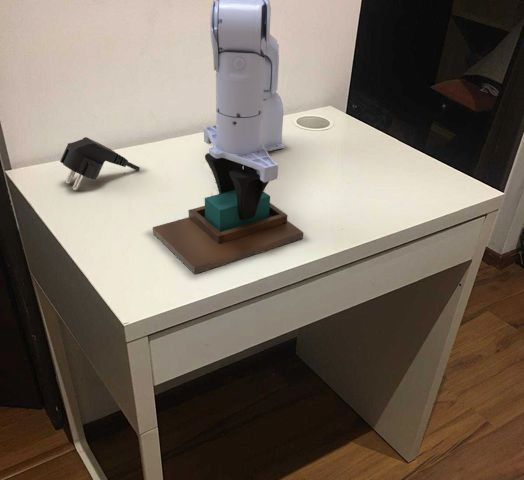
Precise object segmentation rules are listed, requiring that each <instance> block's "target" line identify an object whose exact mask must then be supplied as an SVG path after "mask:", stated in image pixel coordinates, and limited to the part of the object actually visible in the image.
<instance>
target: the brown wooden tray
mask: <svg viewBox="0 0 524 480" xmlns="http://www.w3.org/2000/svg"><path fill="white" fill-rule="evenodd" d="M152 234H153V235H154V236H155V237H156V238H157V239H158V240H159V241H160V242H161V243H162V244H163V245H164V247H166V248H167V249H168V250H169V251H170V252H171V253H172V254H173V255H175V257H176V258H177V259H178V260H179V261H180V262H181V263H183V265H185V267H186V268H187V269H188V270H190V271H191V272H192V273H193V274H194V275H197V274H199V273H203V272H205V271H209V270H212V269H214V268H218V267H221V266H225V265H226V264H231V263H233V262H236V261H239V260H242V259H245V258H248V257H252V256H255V255H257V254H261V253H263V252H267V251H269V250H272V249H275V248H279V247H282V246H285V245H287V244H292V243H293V242H297V241H299V240H303V239H304V232H303V231H302V230H301V229H300V228H298V227H297V226H296V225H294V224H292V223H291V222H290V221H288V214H286V213H285V212H284V211H282V210H281V209H280V208H278V207H277V206H275V205H274V204H272V203H271V202H270V209H269V218H266V219H263V220H259V221H256V222H253V223H249V224H246V225H243V226H239V227H236V228H233V229H229V230H226V231H222V232H220V231H219V230H218V229H217V228H215V227H214V226H213V225H212V224H211V223H209V222H208V221H207V220H206V219H205V205H202V206H198V207H195V208H190V209H188V217H184V218H181V219H177V220H173V221H170V222H167V223H163V224H159V225H156V226H153V227H152Z"/></svg>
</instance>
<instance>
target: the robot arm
mask: <svg viewBox="0 0 524 480" xmlns="http://www.w3.org/2000/svg"><path fill="white" fill-rule="evenodd" d="M271 11H272V8H271V1H270V0H216V1H215V0H212V1H211V7H210V17H209V19H210V20H209V21H210V23H209V24H210V25H209V27H210V28H209V29H210V30H209V31H210V44H211V48H212V55H213V70H214V71H215V101H216V102H215V107H216V108H215V120H216V121H215V125H210V126H205V127H203V142H204V143H205V144H207V145H210V144H211V146H212V147H209V149H208V152H207V153H206V154H205V155H204V160H205V161H206V163H207V165H208V166H209V168H210V170H211V173H212V175H213V178H214V180H215V184H216V187H217V191H218V194H221V193H225V192H229V191H232V190H236V195H237V205H238V213H239V217H240V219H241V220H247V219H250V218H254V217H255V214H256V211H257V207H258V204H259V201H260V198H261V196H262V193H263V191H264V192H265V190H266V188H267V186H268V184H269V183H270V182H272V181H276V180H278V173H279V164H278V163H277V162H276V161H274V160H273V158H272V157H271V155H270V154H269V152H272V151H276V150H280V149H284V148H285V144H283V143H282V142H283V141H282V140H283V125H284V104H283V100H282V98H281V96H280V94H279V93H278V92H277V91H278V85H279V68H280V67H279V65H280V54H279V53H280V49H279V48H280V45H279V43H278V40H277V39H276V38H275V37H274V36H273V35H272V34H271V16H272V15H271Z"/></svg>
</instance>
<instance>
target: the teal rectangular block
mask: <svg viewBox="0 0 524 480" xmlns="http://www.w3.org/2000/svg"><path fill="white" fill-rule="evenodd" d="M270 203H271V196H270V195H269V194H267V192H266V191H265V190H264V191H263V193H262V196H261V198H260V201H259V204H258V207H257V211H256V214H255V217H254V218H250V219H247V220H241V219H240V217H239V213H238V205H237V195H236V190H232V191H229V192H225V193H221V194H219V193H217V194H214V195H210V196H207V197H204V206H205V219H206V220H207V221H208V222H209V223H211V224H212V225H213V226H214V227H215V228H217V229H218V230H219V231H220V232H222V231H226V230H229V229H233V228H236V227H239V226H243V225H246V224H249V223H253V222H256V221H259V220H263V219H266V218H269V209H270Z"/></svg>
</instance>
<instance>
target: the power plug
mask: <svg viewBox="0 0 524 480" xmlns="http://www.w3.org/2000/svg"><path fill="white" fill-rule="evenodd" d="M59 162H60V163H61V164H62V165H63V166H64V167H66V168H67V169H69V170H70V171H69V173H68V175H67V177H66V180H65V183H66V184H67V185H70V184H71V183H72V181H73V180H74V177H75V174H77V176H76V178H75V181H74V182H73V185H72V190H74V191H78V190H79V187H80V185H81V183H82V181H83V179H84V178H87V179H90V180H92V181H97V180H98V179H97V178H98V176H99V174H100V173H101V170H102V168H103V166H104V164H105V162H108V163H111V164H113V165H116V166H120V167H123V168H126V167H128V168H131V169H132V170H134V171H137V172H139V171H140V166H139V165H136V164H134V163H132V162H130V161H129V160H128V159H127V158H125V156H122V155H121V154H119V153H118V152H116V151H115V150H113V149H111V148H109V147H107V146H106V145H104V144H101V143H100V142H98V141H95V140H94V139H91V138H89V137H87V136H85V137H83V138H82V139H78V140H76V141H73V142H69V143H67V145H66V147H65V149H64V152H63V153H62V156H61V158H60V160H59Z"/></svg>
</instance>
